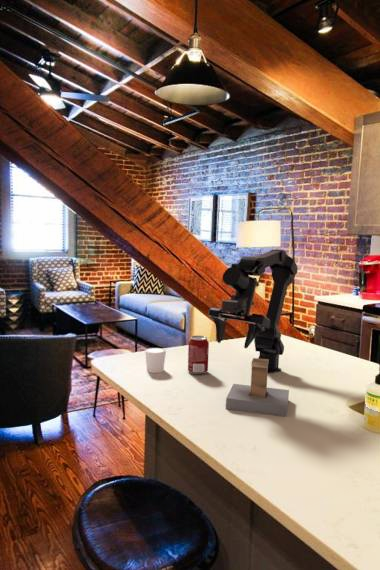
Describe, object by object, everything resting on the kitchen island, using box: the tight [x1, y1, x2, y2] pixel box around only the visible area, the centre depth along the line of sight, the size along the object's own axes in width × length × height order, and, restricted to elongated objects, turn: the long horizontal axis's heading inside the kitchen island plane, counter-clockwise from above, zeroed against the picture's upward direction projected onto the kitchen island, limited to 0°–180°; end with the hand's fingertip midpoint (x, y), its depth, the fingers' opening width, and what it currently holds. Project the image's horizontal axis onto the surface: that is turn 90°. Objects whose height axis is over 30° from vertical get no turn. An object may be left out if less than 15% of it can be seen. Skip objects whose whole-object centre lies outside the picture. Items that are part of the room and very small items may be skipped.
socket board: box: [225, 383, 290, 417], centre depth 126 cm, size 12×16×3 cm
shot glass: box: [145, 347, 167, 374], centre depth 154 cm, size 7×7×7 cm
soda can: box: [187, 335, 210, 376], centre depth 152 cm, size 7×7×12 cm
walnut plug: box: [250, 357, 269, 398], centre depth 126 cm, size 4×4×12 cm
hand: (231, 345), depth 136 cm, fingers open, 9 cm apart
